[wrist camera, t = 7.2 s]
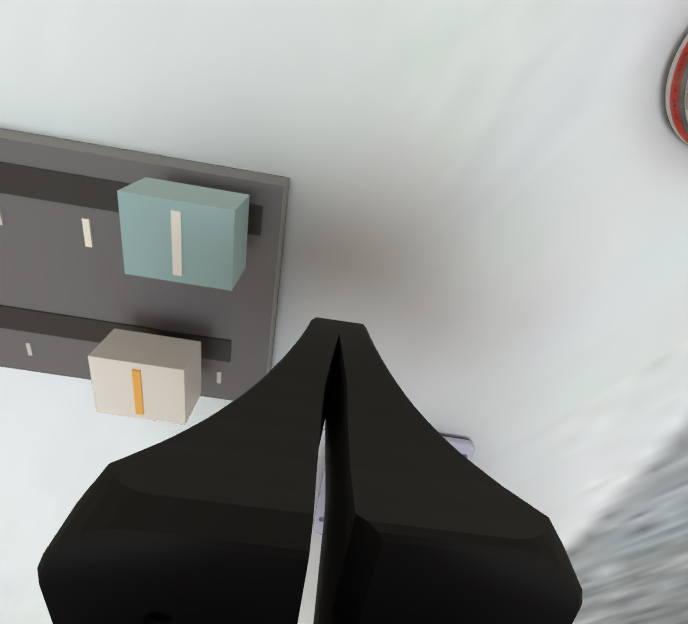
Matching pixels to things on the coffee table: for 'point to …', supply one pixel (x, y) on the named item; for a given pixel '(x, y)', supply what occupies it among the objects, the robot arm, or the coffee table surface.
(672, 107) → the pill bottle
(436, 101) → the coffee table surface
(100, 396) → the cream fader
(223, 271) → the teal fader
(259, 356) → the mixer panel
